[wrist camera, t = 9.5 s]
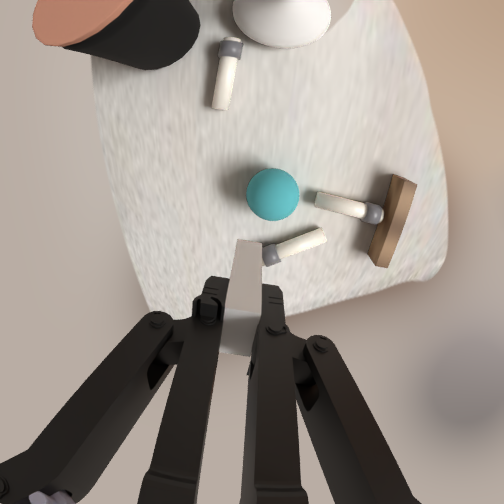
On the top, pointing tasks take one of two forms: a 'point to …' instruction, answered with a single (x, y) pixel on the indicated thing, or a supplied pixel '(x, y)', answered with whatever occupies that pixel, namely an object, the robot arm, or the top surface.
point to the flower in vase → (282, 21)
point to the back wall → (392, 221)
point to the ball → (272, 194)
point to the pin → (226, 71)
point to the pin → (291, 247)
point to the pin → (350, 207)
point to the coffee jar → (120, 29)
